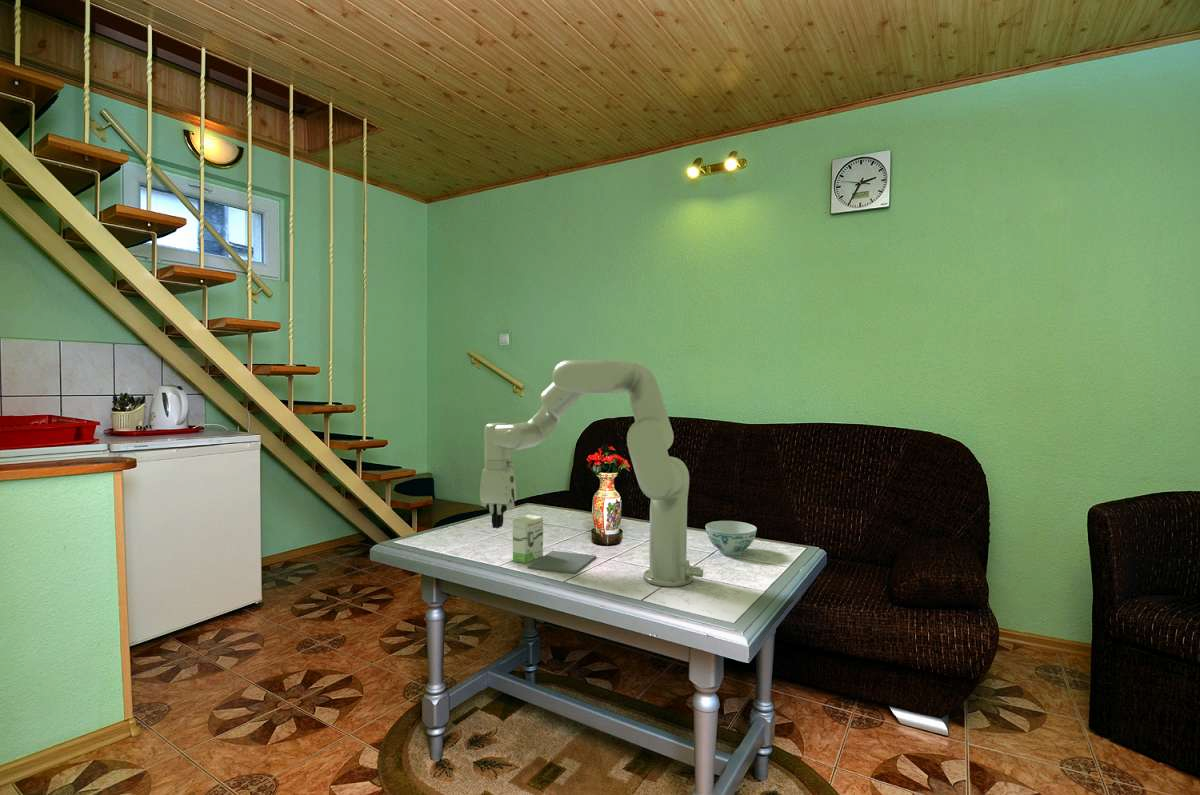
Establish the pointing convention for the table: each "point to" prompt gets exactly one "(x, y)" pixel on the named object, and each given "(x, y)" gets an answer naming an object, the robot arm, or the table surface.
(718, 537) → the chinaware
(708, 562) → the table surface
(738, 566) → the table surface
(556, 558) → the slate mat
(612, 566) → the table surface
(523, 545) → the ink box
